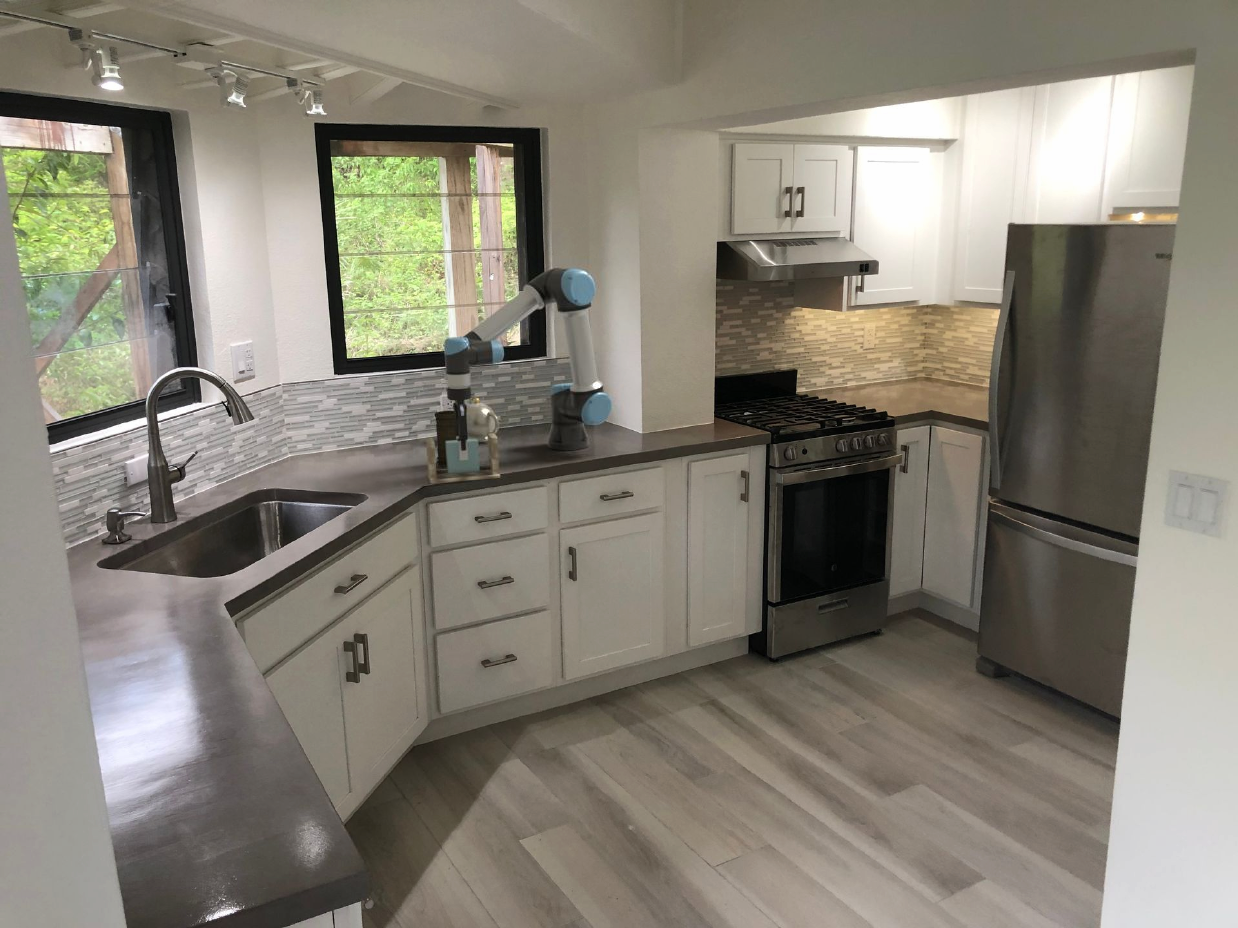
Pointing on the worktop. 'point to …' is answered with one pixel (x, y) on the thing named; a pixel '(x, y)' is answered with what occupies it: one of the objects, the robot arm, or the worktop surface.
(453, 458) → the door panel
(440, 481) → the wooden rack
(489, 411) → the teapot
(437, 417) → the container
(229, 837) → the worktop surface
